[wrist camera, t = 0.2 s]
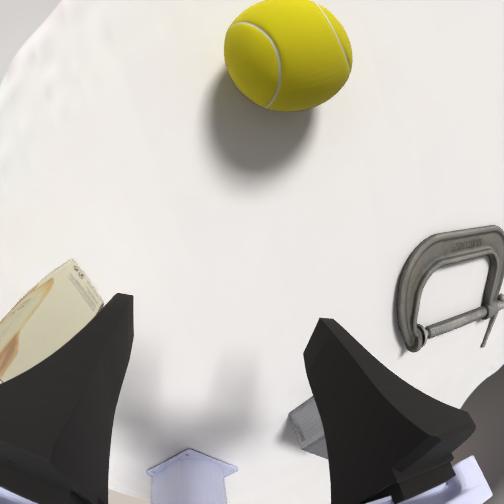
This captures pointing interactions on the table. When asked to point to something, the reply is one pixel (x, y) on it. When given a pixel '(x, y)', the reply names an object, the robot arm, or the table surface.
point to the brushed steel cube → (309, 428)
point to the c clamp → (442, 253)
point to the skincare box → (46, 319)
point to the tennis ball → (288, 54)
